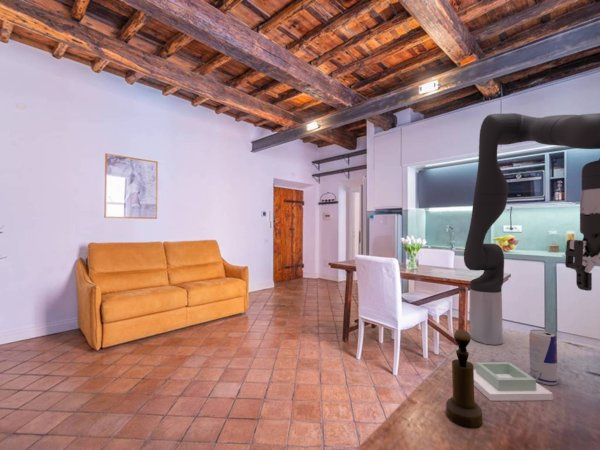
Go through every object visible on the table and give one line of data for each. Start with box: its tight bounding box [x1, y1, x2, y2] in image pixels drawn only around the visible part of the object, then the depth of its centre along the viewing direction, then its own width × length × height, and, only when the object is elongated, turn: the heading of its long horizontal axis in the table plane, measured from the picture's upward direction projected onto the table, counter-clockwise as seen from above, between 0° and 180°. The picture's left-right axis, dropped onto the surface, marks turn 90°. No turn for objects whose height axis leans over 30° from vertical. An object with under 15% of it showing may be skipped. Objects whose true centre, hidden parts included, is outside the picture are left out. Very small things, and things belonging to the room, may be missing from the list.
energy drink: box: [528, 329, 559, 386], centre depth 73 cm, size 5×5×12 cm
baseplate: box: [474, 361, 554, 402], centre depth 70 cm, size 11×14×4 cm
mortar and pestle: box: [445, 329, 483, 429], centre depth 59 cm, size 7×6×18 cm
